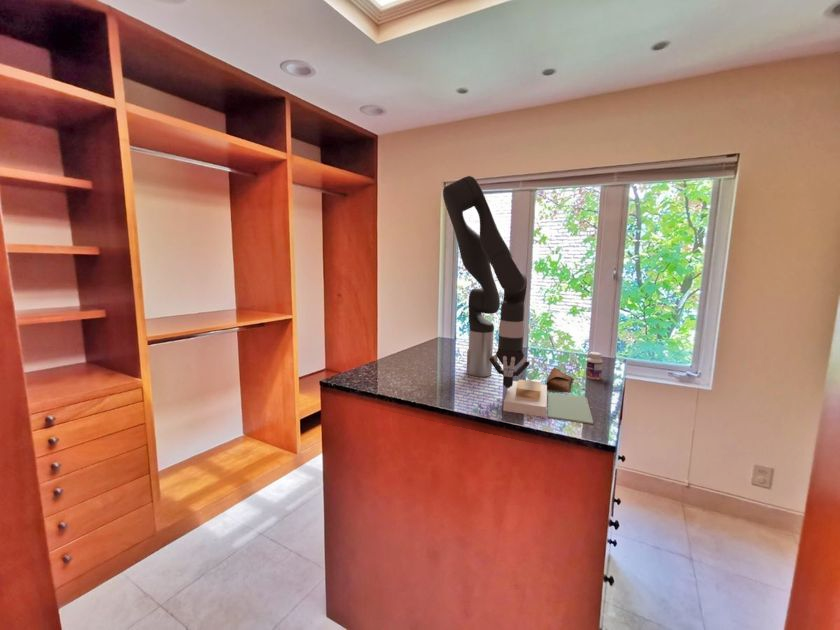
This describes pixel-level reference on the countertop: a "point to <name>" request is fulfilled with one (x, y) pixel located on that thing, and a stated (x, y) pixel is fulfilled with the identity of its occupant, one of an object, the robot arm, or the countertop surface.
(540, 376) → the countertop surface
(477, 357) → the robot arm
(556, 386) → the sunglasses case
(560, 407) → the mat
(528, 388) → the birch tile
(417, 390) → the countertop surface
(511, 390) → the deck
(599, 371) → the pill bottle
